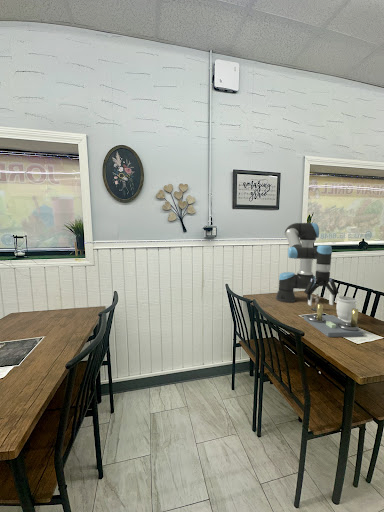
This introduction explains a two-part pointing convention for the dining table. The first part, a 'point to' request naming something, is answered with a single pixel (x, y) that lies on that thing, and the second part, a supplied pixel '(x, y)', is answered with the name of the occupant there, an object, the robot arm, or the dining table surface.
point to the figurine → (316, 302)
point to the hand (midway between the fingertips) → (320, 304)
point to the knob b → (353, 324)
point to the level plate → (334, 330)
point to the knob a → (319, 314)
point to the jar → (345, 308)
